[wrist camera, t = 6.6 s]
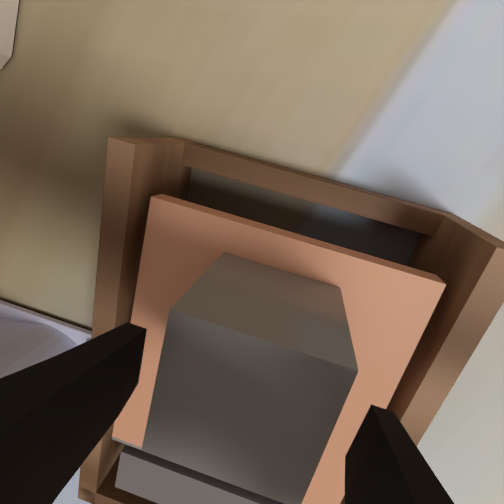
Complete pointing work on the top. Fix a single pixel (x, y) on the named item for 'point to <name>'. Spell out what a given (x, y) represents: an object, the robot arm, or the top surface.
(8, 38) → the cup
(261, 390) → the grey block
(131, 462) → the trapdoor
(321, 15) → the top surface
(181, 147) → the trapdoor box
